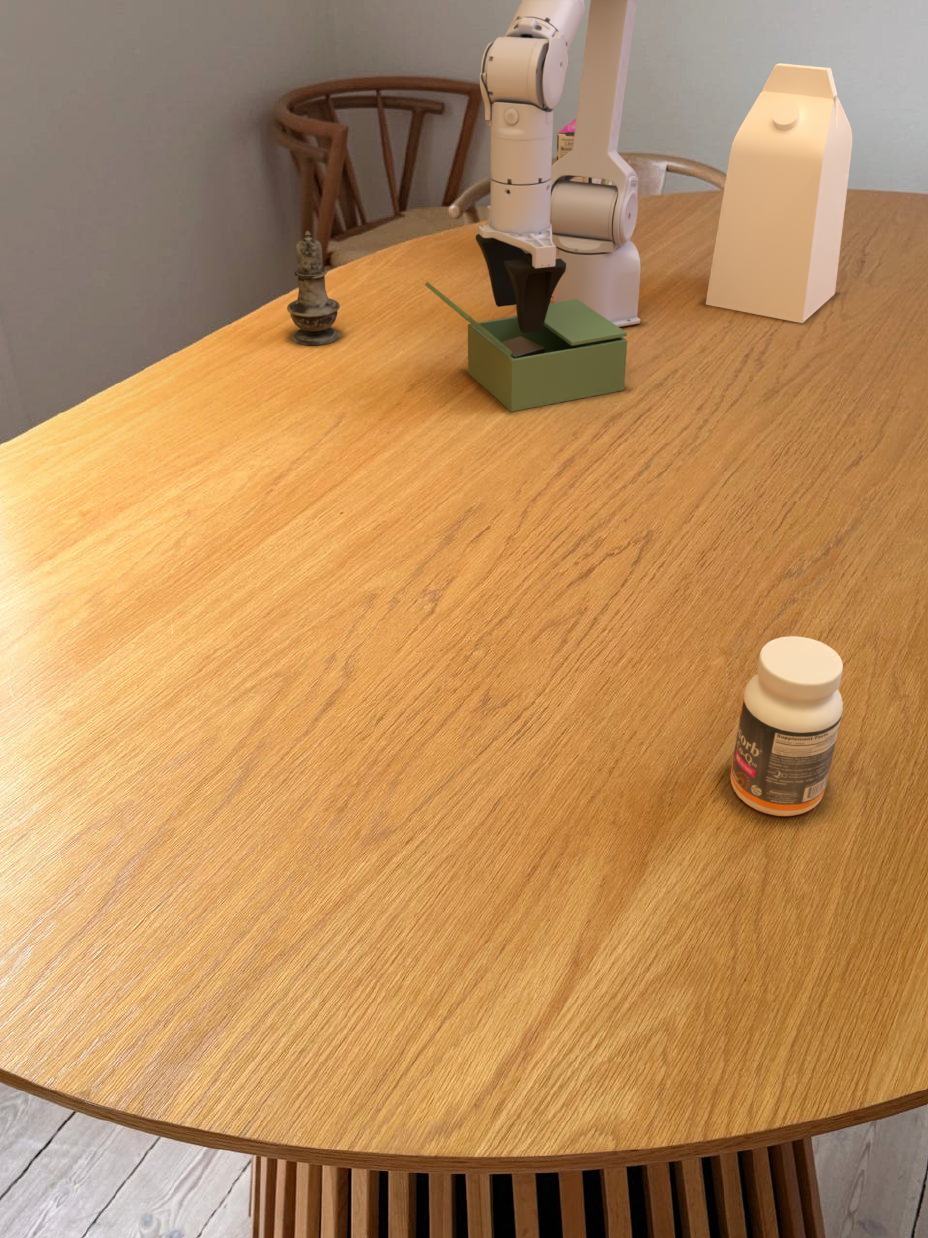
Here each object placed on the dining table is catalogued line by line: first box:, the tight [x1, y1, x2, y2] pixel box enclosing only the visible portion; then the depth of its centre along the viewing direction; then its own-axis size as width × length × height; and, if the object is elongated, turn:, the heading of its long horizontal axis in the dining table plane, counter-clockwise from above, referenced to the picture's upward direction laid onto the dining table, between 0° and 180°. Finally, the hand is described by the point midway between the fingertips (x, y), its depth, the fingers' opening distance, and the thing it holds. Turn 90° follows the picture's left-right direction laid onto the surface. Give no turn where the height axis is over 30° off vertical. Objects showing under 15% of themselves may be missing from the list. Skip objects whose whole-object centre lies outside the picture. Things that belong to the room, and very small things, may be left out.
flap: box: [424, 281, 512, 355], centre depth 119 cm, size 6×11×1 cm
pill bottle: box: [730, 635, 844, 817], centre depth 72 cm, size 6×6×10 cm
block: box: [501, 336, 545, 359], centre depth 124 cm, size 4×4×4 cm
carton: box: [467, 299, 628, 412], centre depth 125 cm, size 13×11×6 cm
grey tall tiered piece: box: [286, 230, 341, 347], centre depth 134 cm, size 6×6×12 cm
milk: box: [705, 62, 854, 324], centre depth 139 cm, size 12×12×26 cm
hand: (518, 317), depth 122 cm, fingers open, 7 cm apart
